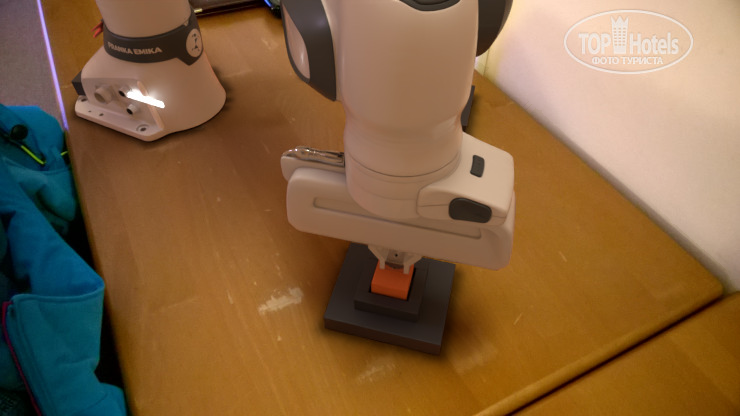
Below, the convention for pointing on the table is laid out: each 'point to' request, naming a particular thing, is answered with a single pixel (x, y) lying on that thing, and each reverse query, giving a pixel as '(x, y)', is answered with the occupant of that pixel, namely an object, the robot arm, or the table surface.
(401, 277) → the near key
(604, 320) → the table surface
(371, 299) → the near keypad
